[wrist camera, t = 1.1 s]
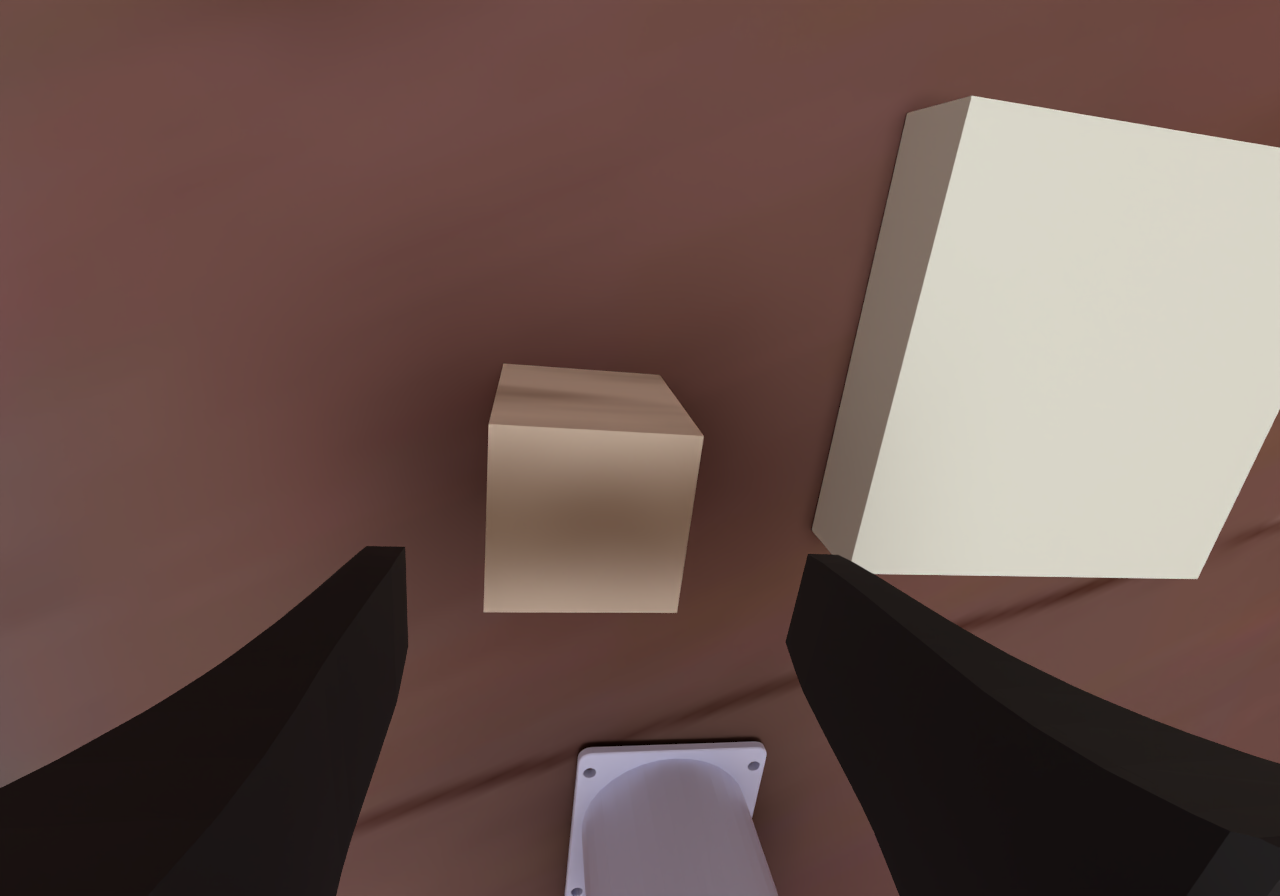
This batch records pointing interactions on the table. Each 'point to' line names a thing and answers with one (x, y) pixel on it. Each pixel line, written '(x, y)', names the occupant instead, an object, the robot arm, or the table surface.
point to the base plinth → (1057, 349)
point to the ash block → (587, 492)
